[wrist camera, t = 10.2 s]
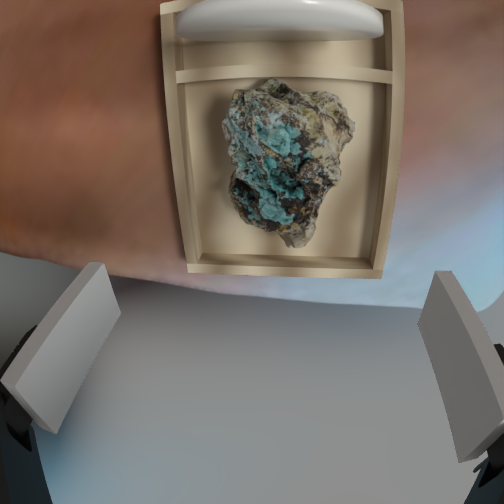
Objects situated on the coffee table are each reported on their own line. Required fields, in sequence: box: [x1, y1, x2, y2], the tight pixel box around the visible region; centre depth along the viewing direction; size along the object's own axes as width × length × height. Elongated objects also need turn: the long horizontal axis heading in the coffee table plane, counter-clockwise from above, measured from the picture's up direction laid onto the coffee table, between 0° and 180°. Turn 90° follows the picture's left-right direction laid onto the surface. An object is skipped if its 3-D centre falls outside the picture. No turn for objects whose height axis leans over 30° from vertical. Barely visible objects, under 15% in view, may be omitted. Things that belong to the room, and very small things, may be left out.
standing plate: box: [176, 0, 384, 41], centre depth 15 cm, size 12×1×12 cm, turn 92°
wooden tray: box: [160, 0, 405, 279], centre depth 24 cm, size 18×24×3 cm
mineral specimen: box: [222, 78, 355, 248], centre depth 23 cm, size 12×9×8 cm
